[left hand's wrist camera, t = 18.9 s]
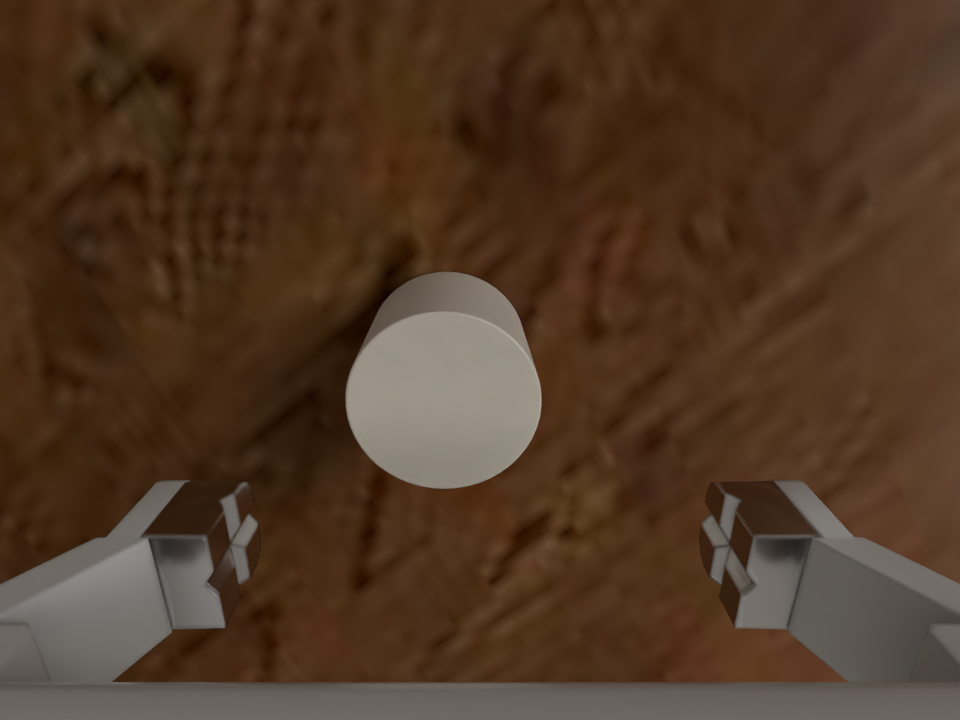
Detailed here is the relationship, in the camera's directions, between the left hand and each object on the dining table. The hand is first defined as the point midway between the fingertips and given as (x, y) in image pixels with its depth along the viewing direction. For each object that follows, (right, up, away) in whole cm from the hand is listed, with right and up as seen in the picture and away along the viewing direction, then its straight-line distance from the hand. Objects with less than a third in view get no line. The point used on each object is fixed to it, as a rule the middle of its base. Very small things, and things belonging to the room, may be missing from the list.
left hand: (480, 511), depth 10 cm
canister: (-1, +3, +8) cm, 9 cm away
